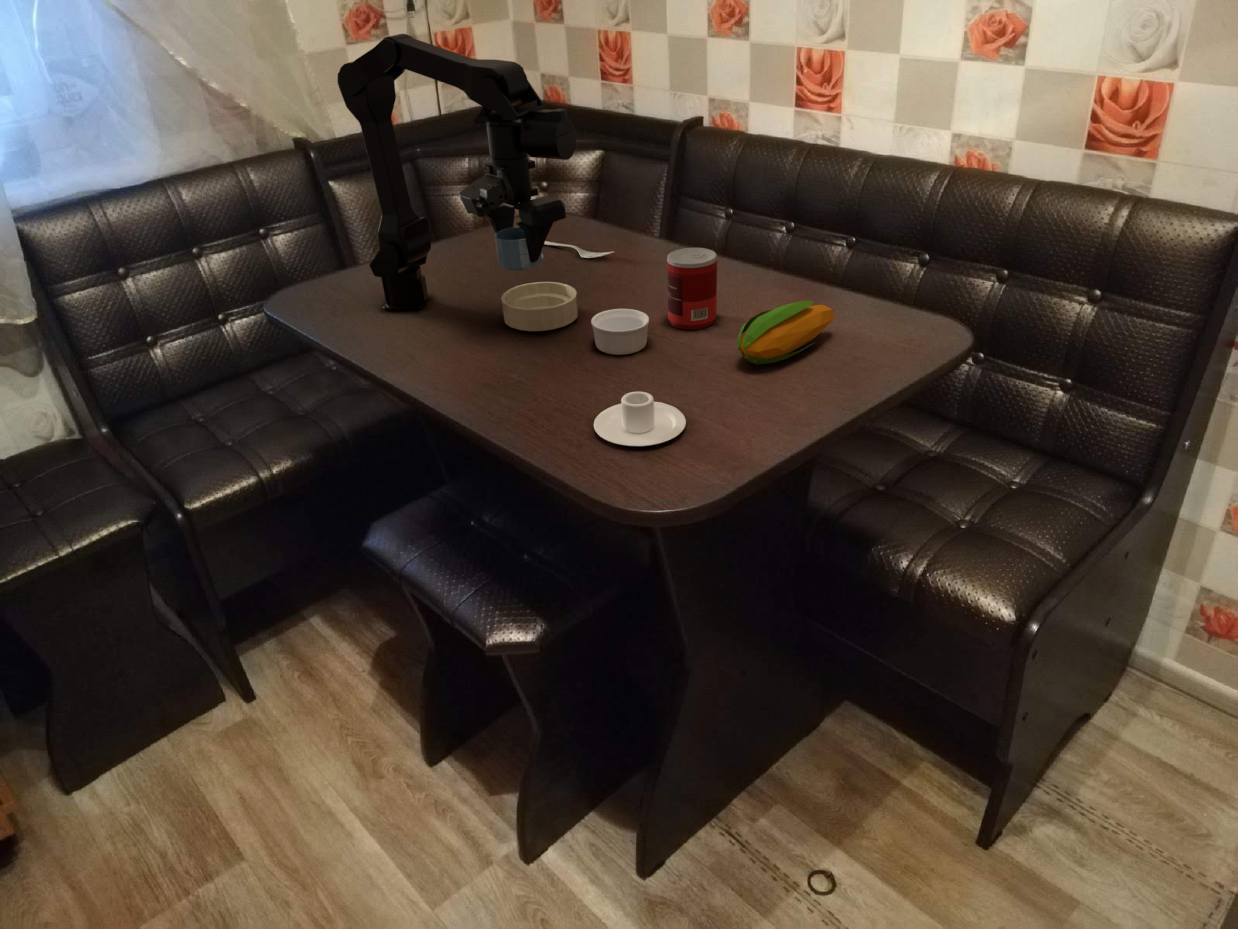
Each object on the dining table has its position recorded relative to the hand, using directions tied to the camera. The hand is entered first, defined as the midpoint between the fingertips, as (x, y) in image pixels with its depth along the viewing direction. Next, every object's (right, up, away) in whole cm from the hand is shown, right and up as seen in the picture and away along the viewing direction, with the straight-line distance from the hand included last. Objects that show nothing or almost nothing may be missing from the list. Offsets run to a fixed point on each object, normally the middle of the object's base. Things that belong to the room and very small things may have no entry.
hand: (520, 256), depth 146 cm
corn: (+41, -16, -7) cm, 44 cm away
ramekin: (+16, -14, -3) cm, 22 cm away
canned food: (+28, -10, +4) cm, 29 cm away
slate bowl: (0, -1, +1) cm, 1 cm away
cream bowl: (+3, -9, +8) cm, 12 cm away
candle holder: (+18, -28, -25) cm, 42 cm away
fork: (+5, +10, +37) cm, 39 cm away
